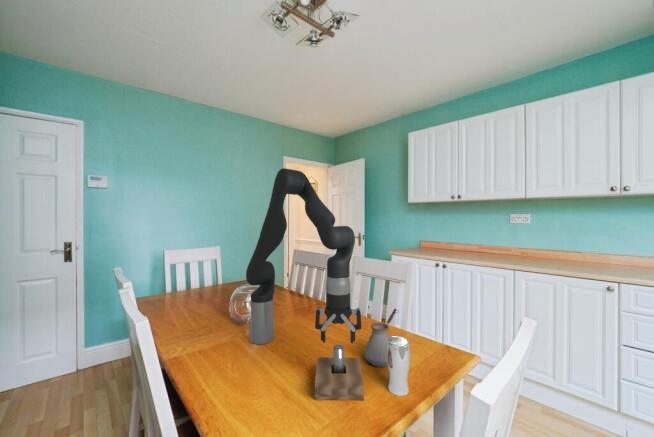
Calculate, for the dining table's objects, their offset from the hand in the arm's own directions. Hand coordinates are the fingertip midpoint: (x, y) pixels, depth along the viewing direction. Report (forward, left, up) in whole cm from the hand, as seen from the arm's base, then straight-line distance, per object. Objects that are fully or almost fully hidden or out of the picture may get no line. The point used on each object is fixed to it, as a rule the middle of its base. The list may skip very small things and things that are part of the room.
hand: (338, 341), depth 86 cm
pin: (0, 0, -13) cm, 13 cm away
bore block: (0, 0, -14) cm, 14 cm away
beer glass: (+18, -2, -14) cm, 23 cm away
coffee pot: (+18, +18, -14) cm, 29 cm away
